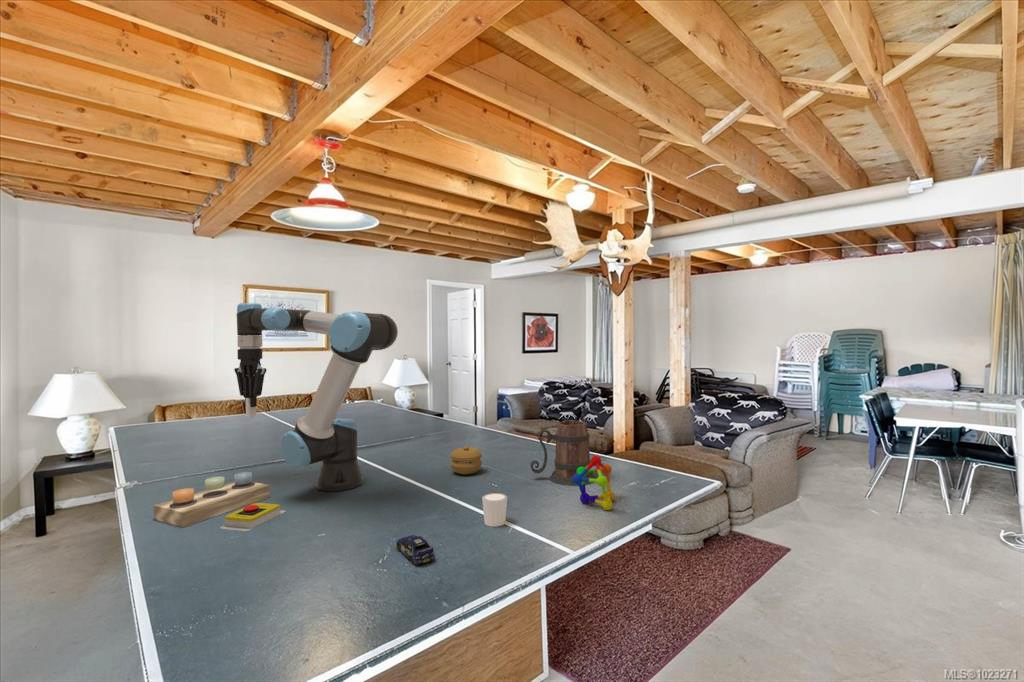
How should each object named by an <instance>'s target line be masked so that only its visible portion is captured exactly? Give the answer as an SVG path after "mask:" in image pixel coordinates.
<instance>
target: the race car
mask: <svg viewBox="0 0 1024 682" xmlns="http://www.w3.org/2000/svg"><path fill="white" fill-rule="evenodd" d="M394 545H395V546H396V549H397V551H398V552H400V553H402V555H403V556H404V557H405V558H407V559H408V560H409V562H410V563H411V565H416V566H419V565H423V564H427V563H428V562H430V561H434V560H435V557H436V556H435V552H434V547H433V546H430V544H429V543H428V542H427V540H426V539H424V538H423V536H421V535H420V536H418V535H415V534H412V535H407V536H403V537H401V538H399V539H397V540H396V544H394Z"/></svg>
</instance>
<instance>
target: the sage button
mask: <svg viewBox="0 0 1024 682" xmlns="http://www.w3.org/2000/svg"><path fill="white" fill-rule="evenodd" d="M225 484H226V483H225V476H224V475H223V476H222V475H221V476H212V477H208V478H205V479H204V490H215V489H220V488H223V487H224V486H225Z"/></svg>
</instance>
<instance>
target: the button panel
mask: <svg viewBox="0 0 1024 682" xmlns="http://www.w3.org/2000/svg"><path fill="white" fill-rule="evenodd" d="M270 495H271V493H270V484H266V483H260V482H255V481H252V482H250V483H247V484H242V485H236V484H234V481H232V482H230V483H227V484H226V483H225V486H224V487H223V488H220V489H215V490H206V489H204V490H202V491H198V492H194V499H193V500H191V501H188V502H183V503H173V499H171V500H168V501H164V502H161V503H158V504H153V519H154V520H155V521H159V522H162V523H166V524H170V525H173V526H178V527H181V528H186V527H189V526H191V525H195V524H198V523H200V522H203V521H205V520H209V519H212V518H215V517H217V516H220V515H224V514H226V513H229V512H232V511H235V510H239V509H240V508H241V509H242V508H244V507H246V506H249V505H251V504H254V503H259V502H261V501H264V500H266V499H269V498H270Z"/></svg>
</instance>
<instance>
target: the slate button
mask: <svg viewBox="0 0 1024 682" xmlns="http://www.w3.org/2000/svg"><path fill="white" fill-rule="evenodd" d="M233 482H234V484H236V485H242V484H247V483H250V482H253V472H251V471H242V472H238V473H235V474H234V475H233Z"/></svg>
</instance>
